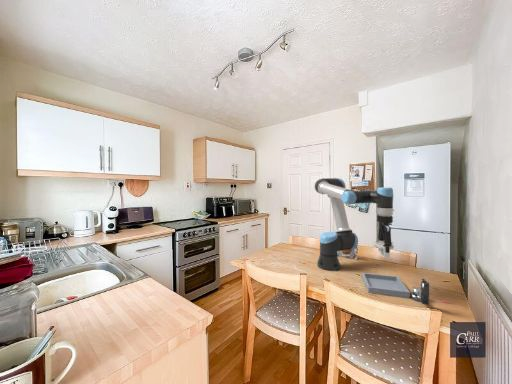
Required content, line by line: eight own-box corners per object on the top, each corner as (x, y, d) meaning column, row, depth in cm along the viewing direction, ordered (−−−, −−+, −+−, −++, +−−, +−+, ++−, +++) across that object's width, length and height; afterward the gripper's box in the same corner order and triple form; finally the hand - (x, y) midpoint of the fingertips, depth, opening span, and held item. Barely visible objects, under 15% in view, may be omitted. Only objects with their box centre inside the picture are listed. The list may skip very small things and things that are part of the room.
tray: (368, 292, 114) (368, 287, 114) (362, 277, 132) (362, 272, 132) (409, 298, 109) (409, 292, 109) (397, 281, 127) (397, 276, 127)
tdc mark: (442, 302, 104) (442, 301, 104) (440, 301, 106) (440, 300, 106) (449, 303, 104) (449, 302, 104) (448, 302, 105) (448, 301, 105)
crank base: (412, 300, 106) (413, 297, 106) (408, 294, 112) (408, 291, 112) (427, 302, 104) (427, 298, 104) (421, 296, 110) (422, 292, 110)
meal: (336, 256, 169) (336, 240, 168) (337, 255, 172) (337, 239, 172) (356, 260, 160) (356, 243, 159) (357, 259, 163) (358, 242, 163)
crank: (411, 291, 110) (411, 271, 110) (420, 293, 109) (421, 272, 109) (422, 305, 99) (422, 282, 98) (432, 306, 97) (433, 284, 97)
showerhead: (399, 244, 115) (381, 245, 114) (398, 257, 115) (381, 258, 115) (386, 240, 125) (370, 240, 124) (386, 252, 125) (370, 252, 124)
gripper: (399, 218, 107) (398, 262, 108) (386, 212, 128) (386, 249, 129) (382, 218, 109) (381, 261, 110) (372, 212, 130) (372, 248, 131)
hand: (384, 254), depth 120 cm, fingers closed on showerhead, 9 cm apart
